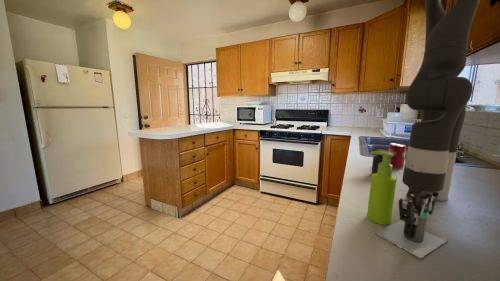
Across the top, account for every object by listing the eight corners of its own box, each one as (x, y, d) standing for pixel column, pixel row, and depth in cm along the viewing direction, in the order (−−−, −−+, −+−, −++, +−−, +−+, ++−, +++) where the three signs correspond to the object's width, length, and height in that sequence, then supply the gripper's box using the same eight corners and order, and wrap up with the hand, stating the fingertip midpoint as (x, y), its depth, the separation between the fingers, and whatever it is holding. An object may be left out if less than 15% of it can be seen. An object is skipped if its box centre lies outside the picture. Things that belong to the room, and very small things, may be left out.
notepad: (402, 221, 60) (403, 219, 60) (447, 241, 52) (448, 239, 51) (375, 234, 54) (375, 231, 54) (420, 259, 46) (421, 257, 45)
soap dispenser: (365, 210, 66) (372, 148, 62) (391, 218, 62) (401, 152, 58) (361, 218, 61) (368, 152, 58) (389, 227, 57) (399, 156, 53)
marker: (408, 231, 55) (412, 206, 53) (426, 239, 51) (431, 213, 50) (400, 235, 53) (404, 209, 51) (418, 244, 49) (422, 217, 48)
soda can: (389, 168, 107) (392, 145, 105) (384, 164, 114) (387, 142, 112) (405, 169, 105) (409, 146, 103) (400, 165, 112) (403, 143, 110)
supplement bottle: (391, 177, 95) (395, 151, 93) (381, 179, 92) (384, 152, 90) (377, 172, 101) (380, 148, 99) (367, 174, 99) (370, 149, 96)
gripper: (421, 159, 55) (411, 218, 58) (390, 166, 49) (381, 233, 52) (459, 167, 49) (445, 233, 52) (429, 176, 42) (416, 252, 45)
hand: (413, 233), depth 52 cm, fingers closed on marker, 3 cm apart
